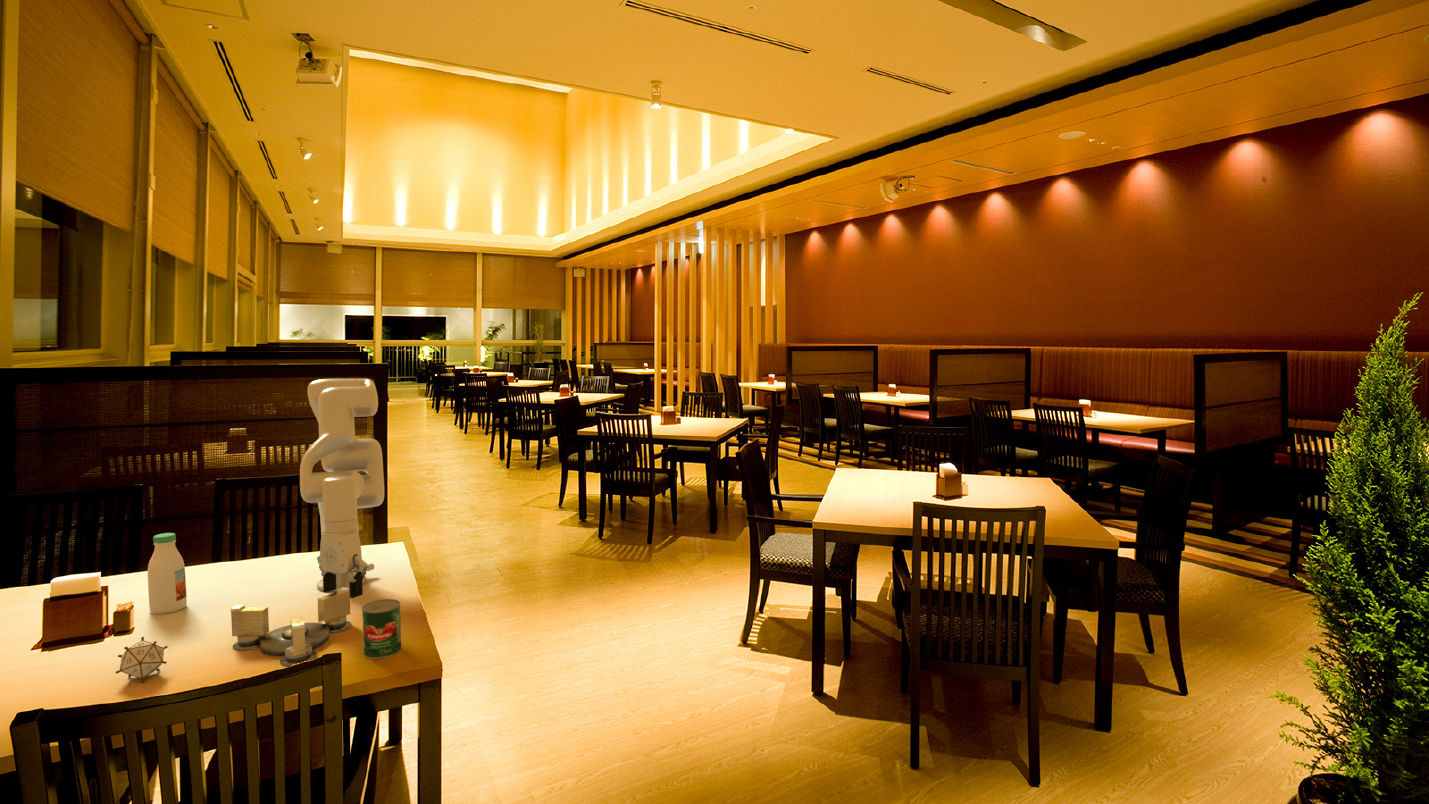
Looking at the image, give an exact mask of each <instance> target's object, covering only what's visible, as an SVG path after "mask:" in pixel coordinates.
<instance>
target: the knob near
mask: <svg viewBox="0 0 1429 804" xmlns="http://www.w3.org/2000/svg"><path fill="white" fill-rule="evenodd" d="M349 615H351V598H350V590H349V588H345V587H342V588H340V589H337V591H334V592H331V593H329V594H326V595H324V596H321V597H318V598H317V618H318V621H317V623H322V624H325V625H327V626H328V627H329V629H337V628H341V627H343V626H345V625H346V624H347V621H348V619H347V616H349Z"/></svg>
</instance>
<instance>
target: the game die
mask: <svg viewBox="0 0 1429 804" xmlns="http://www.w3.org/2000/svg"><path fill="white" fill-rule="evenodd" d="M140 639H141V640H140V641H139V642H137V643H135V644H133V645H131V646H130V647H128V646H124V650H125V651H124V653H123V654H118V655H117V657H118V658H120V665H119V669H118V670H116V671H115V674H120V673H124V674H125V675H126V674H127V675H128V676H127V677H128V679H129V678H131V677H134V678H137V679H140V683H143V682H144V681H145V680H144V679H145V678H146V677H147V676H149V675H151V674H152V673H153V672H161V671H160V666H161V665H162V664H164V665H166V664H167V663H168V662H167V661H166V660H164V656H165V655H164V653H165V650H166V649H168V647H169V646H168V645H165V646H163V647H162V646H160V645H158V644H157V643H158V642H157V641H153V643H152V642H149V641H147V640H145V637H144V636H141V638H140Z"/></svg>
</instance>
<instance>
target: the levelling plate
mask: <svg viewBox="0 0 1429 804" xmlns="http://www.w3.org/2000/svg"><path fill="white" fill-rule="evenodd" d="M304 626H305V627H304V629H305V644H310V645H312V656H311V657H309V658H307V659H305V660H302V661H296V662H288V661H286V660H285V650H286V649H287V648H289V647H291V646H292V639H291V624H288V625H285V626H281V627H278V628H276V629H273V630H271V631H269V632H268V633H267V634H265V635H264V636H263V637H262V638H261V639H260V643H258V644H255V645H251V646H239V645H238V641H236V642H235V643H233V644H232V649H233V650H235V651H249V650H254V649H258V648H259V651H260V652H261V653H262V654H263V655H267V656H270V657H282V658H281V659H280V661H279V664H280V665H281V666H284V667H292V666H291V665H293V664H297V663H301V662H304V661H309V660H312V659H314V660H316V659H317V658H318V653H317V652H316V651H313V650H315V649H317V648H320V647H322V646H324V645H325V644H326V643H328V642H329V641H330V634H335V633H341V632H344V631H346V630H348V629H350V628H351V626H352V623H351V621H348V620H347V624H346V625H345V626H343V627H341V628H337V629H329V627H328V626H327V625H325V624H323V623H319V622H304ZM315 658H316V659H315Z"/></svg>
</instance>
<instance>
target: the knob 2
mask: <svg viewBox="0 0 1429 804" xmlns="http://www.w3.org/2000/svg"><path fill="white" fill-rule="evenodd" d="M304 623H305V621H304V619H303V616H297V617H291V618H290V625H291V639H292V646H291V647H289V648H287V649H286V650H285V656H284V657H285V660H286V661H288V662H296V661H302V660H305V659H307V658H309V657H311V656H312V651H313V650H312V645H310V644H305V629H304V627H305V626H304Z"/></svg>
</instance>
